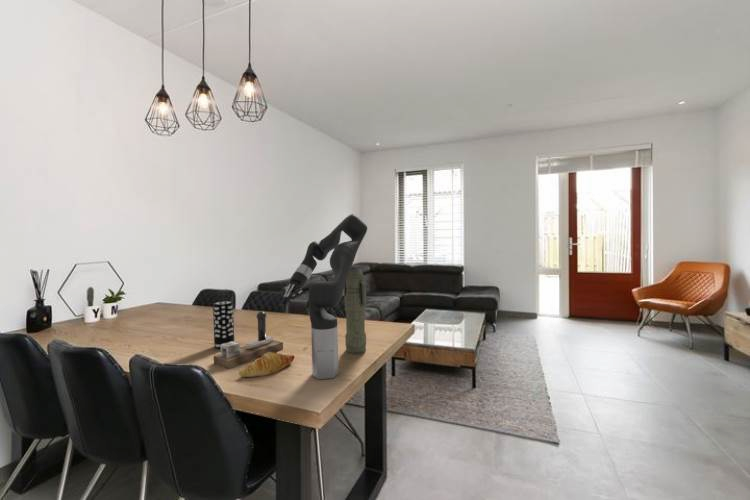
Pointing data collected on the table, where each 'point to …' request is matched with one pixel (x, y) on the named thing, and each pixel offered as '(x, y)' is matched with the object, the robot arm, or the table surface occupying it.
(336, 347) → the robot arm
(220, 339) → the spotted tube
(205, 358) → the table surface
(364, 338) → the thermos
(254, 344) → the bolt
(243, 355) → the door board
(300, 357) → the table surface
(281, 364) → the croissant
